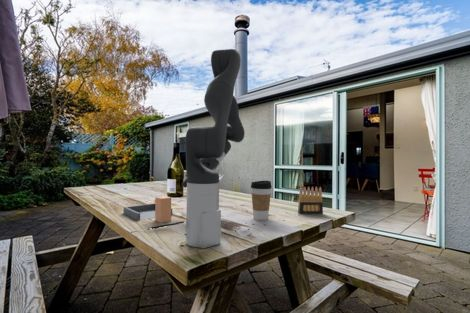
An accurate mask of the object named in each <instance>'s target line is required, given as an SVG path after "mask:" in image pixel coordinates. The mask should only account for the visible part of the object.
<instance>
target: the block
mask: <svg viewBox="0 0 470 313" xmlns="http://www.w3.org/2000/svg"><path fill="white" fill-rule="evenodd" d="M154 198H155V218H154V220H155V221H156V222H158V223H161V224H162V223H168V222H171V221H172V215H171V208H172V196H171V197H170V196H167V195H163V196H156V197H154Z"/></svg>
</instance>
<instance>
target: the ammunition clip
mask: <svg viewBox="0 0 470 313" xmlns="http://www.w3.org/2000/svg"><path fill="white" fill-rule="evenodd" d="M322 191H323V190H322V187H321V186H319V188H318V187H317V186H315V189H314V186H311V189H310V186H307V187H306V186H304V187H302V186H300V187H299V196H298V206H297V208H298V209H297V210H298V211H297V213H298V214H300V215H323V214H324V210H323V209H324V207H323V206H324V203H323V194H322V193H323V192H322ZM305 213H307V214H305Z"/></svg>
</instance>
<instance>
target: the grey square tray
mask: <svg viewBox="0 0 470 313" xmlns="http://www.w3.org/2000/svg"><path fill="white" fill-rule="evenodd" d="M123 214H124V215H126V216H127V217H130V218H132V219H134V220H135V221H143V220H150V219H155V203H148V204H147V203H145V204H138V205H129V206H124V207H123ZM171 216H173V208H172V207H171Z"/></svg>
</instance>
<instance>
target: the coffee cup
mask: <svg viewBox="0 0 470 313" xmlns="http://www.w3.org/2000/svg"><path fill="white" fill-rule="evenodd" d="M250 183H251V184H250V189H251V202H252V213H253V214H252V215H253V217H252V218H253V220H256V221H266V220H268V219H269V212H270V202H271V196H272V195H271V189H272V187H273V186H272V182H271V180H258V181H251V182H250Z"/></svg>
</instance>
